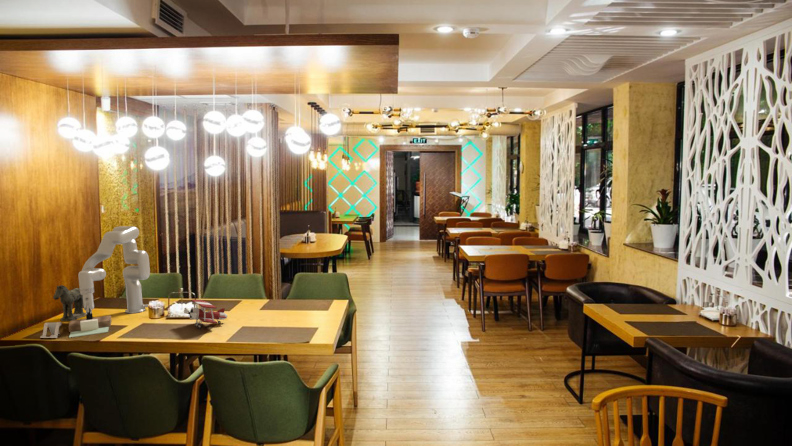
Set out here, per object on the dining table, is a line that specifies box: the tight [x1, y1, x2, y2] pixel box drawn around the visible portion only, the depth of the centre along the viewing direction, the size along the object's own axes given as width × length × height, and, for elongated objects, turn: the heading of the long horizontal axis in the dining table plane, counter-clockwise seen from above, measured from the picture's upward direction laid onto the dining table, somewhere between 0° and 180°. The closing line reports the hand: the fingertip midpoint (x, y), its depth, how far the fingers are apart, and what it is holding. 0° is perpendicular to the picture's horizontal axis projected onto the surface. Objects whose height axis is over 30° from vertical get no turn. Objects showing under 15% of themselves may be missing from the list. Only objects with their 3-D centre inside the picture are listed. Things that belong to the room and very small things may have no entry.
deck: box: [68, 315, 112, 333], centre depth 326 cm, size 22×14×4 cm, turn 117°
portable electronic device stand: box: [39, 321, 62, 339], centre depth 307 cm, size 9×8×8 cm
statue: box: [52, 284, 86, 322], centre depth 343 cm, size 25×10×25 cm, turn 169°
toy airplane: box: [183, 299, 228, 329], centre depth 320 cm, size 27×23×15 cm
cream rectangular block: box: [80, 319, 98, 331], centre depth 318 cm, size 9×6×2 cm
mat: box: [68, 327, 110, 339], centre depth 314 cm, size 20×12×1 cm, turn 117°
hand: (89, 320), depth 322 cm, fingers closed
